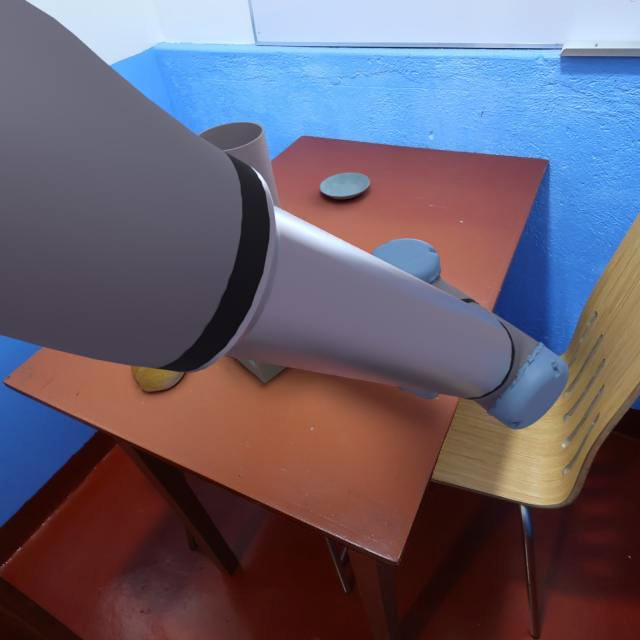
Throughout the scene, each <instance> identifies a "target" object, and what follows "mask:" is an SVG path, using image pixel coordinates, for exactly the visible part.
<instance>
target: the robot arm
mask: <svg viewBox="0 0 640 640" xmlns="http://www.w3.org/2000/svg"><path fill="white" fill-rule="evenodd" d="M280 208H281V207H280ZM280 208H278V207H276V206H274V204H273V201H272V197H271V194H270V191H269V188H268V186H267V184H266V182H265V180H264V179H263V178H262V176H261V175H260V174H259V173H258V172H257V171H256V170H255V169H254V168H252V167H251V166H249V165H248V164H246V163H244V162H242V161H241V160H239V159H237V158H235V157H233V156H232V155H230V154H228V153H226V152H224V151H223V150H221V149H219V148H217V147H216V146H214V145H213V144H211V143H209V142H208V141H206V140H205V139H203V138H201V137H200V136H198V134H197V133H195V132H194V131H193V130H191V129H190V128H189V127H187V126H186V125H185V124H184V123H182V122H181V121H180V120H178V119H177V118H175V117H174V116H173V115H171V114H170V113H169V112H167V110H165V109H164V108H162V107H161V106H159V105H158V104H157V103H156V102H154V101H153V100H152V99H150V98H149V97H147V96H146V95H145V94H144V93H143V92H142V91H140V90H139V89H138V88H136V86H135V85H133V84H132V83H131V82H130V81H128V80H127V79H126V78H125V77H123V75H122V74H120V73H119V72H118V71H117V70H115V69H114V68H113V67H112V66H111V65H110V64H108V63H107V62H106V61H104V59H103V58H101V57H100V56H99V55H98V54H97V53H96V52H95V51H93V50H92V48H90V47H89V46H88V45H87V44H86V43H85V42H84V41H82V40H81V39H80V38H79V37H78V36H77V35H76V34H75V33H74V32H72V31H71V30H70V29H68V28H67V27H66V26H65V25H63V24H62V23H61V22H60V21H59V20H58V19H56V18H55V17H53V16H51V14H48V13H47V12H45V10H42V9H41V8H39V7H37V6H36V5H34V4H32V3H31V2H30V1H27V0H0V336H1V337H2V336H3V337H6V338H9V339H14V340H17V341H20V342H24V343H27V344H32V345H35V346H38V347H41V348H45V349H50V350H53V351H58V352H62V353H66V354H69V355H74V356H78V357H84V358H88V359H92V360H97V361H102V362H107V363H113V364H119V365H125V366H130V367H131V366H137V367H147V368H154V369H161V370H169V371H175V372H184V374H185V373H186V374H187V373H188V374H189V373H191V374H192V373H197V372H199V371H203V370H206V369H207V368H209V367H211V366H212V365H215V364H216V363H217V362H219V361H220V360H221V359H222V358H223V357H228V358H234V359H236V358H239V359H245V360H251V361H256V362H262V363H268V364H273V365H279V366H285V367H286V368H291V369H297V370H302V371H308V372H314V373H320V374H325V375H331V376H336V377H342V378H348V379H353V380H359V381H364V382H369V383H375V384H381V385H387V386H393V387H396V388H398V389H400V391H402V392H406V393H409V394H412V395H414V396H416V397H419V398H421V399H424V400H433V399H435V398H436V397H438V396H440V395H444V396H448V397H449V396H450V397H454V398H461V399H464V400H467V401H472V402H473V401H474V402H475V403H476V404H477V405H479V406H480V407H482V408H483V410H485V411H486V414H487V415H488V416H490V417H491V416H492V417H493V418H495V420H498V422H500V423H502V424H503V425H504V426H506V427H507V428H509V429H512V430H523V429H526V428H528V427H531V426H532V425H533V424H535V423H537V422H538V421H539V420H541V418H542V417H544V416H545V415H546V414H547V413H548V412H549V411H550V409H552V407H553V406H554V405H555V403H557V402H558V400H559V398H560V397H561V395H562V394H563V392H564V391H565V389H566V386H567V384H568V382H569V377H570V369H569V365H568V363H567V362H566V361H565V359H563V358H562V357H561V356H559V355H557V353H555V352H553V351H552V350H551V349H549V348H548V347H547V346H546V345H545V344H544V343H543V342H542V341H537V340H536V339H534V338H533V337H531V336H530V335H528V334H527V333H525V332H524V331H522V330H520V329H519V328H517V327H516V326H515V325H513V324H512V323H510V322H508V321H506V319H504V318H502V317H500V316H499V315H497V314H496V313H494V312H493V311H491V310H489V309H487V308H486V307H485V306H483V305H481V304H480V303H479V302H477V301H476V300H475V299H473V298H472V297H471V296H469V295H467V294H466V293H465V292H463V291H461V290H460V289H458V288H457V287H455V286H453V285H452V284H451V283H449V282H447V281H446V280H444V279H443V278H442V277H441V272H442V267H441V259H440V256H439V253H438V252H437V250H436V248H435V247H434V246H433V245H431V244H429V243H428V242H426V241H424V240H421V239H417V238H409V237H407V238H406V237H405V238H396V239H390V240H388V241H386V242H385V243H382V244H381V245H378V246H377V247H376V248H375V249H374V250H373V251H372V252H371V253H369V252H367V251H365V250H363V249H361V248H360V247H358V246H355V245H353V244H351V243H349V242H347V241H346V240H343V239H341V238H340V237H337V236H336V235H333V234H332V233H330V232H328V231H325V230H323V229H321V228H319V227H318V226H316V225H314V224H312V223H310V222H308V221H306V220H304V219H302V218H300V217H299V216H298V217H297V216H296V215H294V214H292V213H290V212H288V211H287V210H284V209H283V208H281V209H280Z"/></svg>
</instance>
